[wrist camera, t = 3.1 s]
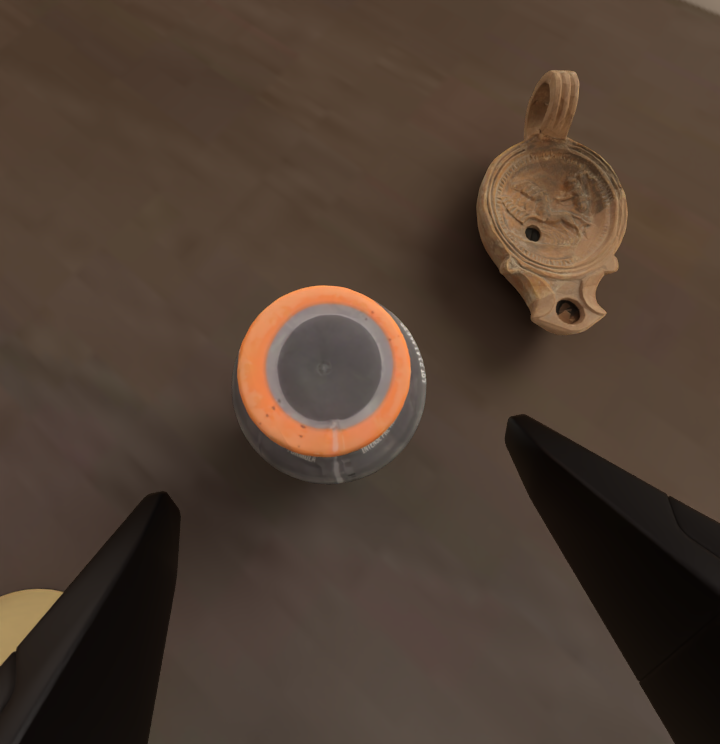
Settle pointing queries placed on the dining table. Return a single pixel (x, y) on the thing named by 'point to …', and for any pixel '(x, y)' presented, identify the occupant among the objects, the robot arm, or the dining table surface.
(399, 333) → the pill bottle
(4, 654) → the tape roll
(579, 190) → the oil lamp
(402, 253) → the dining table surface
